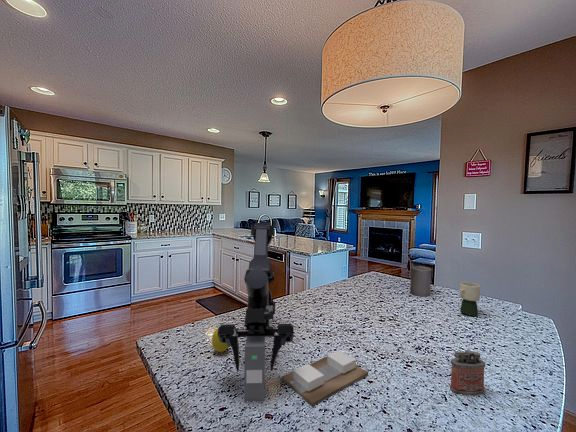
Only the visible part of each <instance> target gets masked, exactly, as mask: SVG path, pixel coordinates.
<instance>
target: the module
mask: <svg viewBox="0 0 576 432" xmlns="http://www.w3.org/2000/svg"><path fill="white" fill-rule="evenodd" d="M245 338H246V339H245V343H244V372H243V373H244V380H243V381H244V389H243V390H244V393H243V394H244V396H243V397H244V399H243V402H244V403H254V402H253V401H264V402H265V388H266V385H265V384H266V382H265V381H266V376H265V373H266V372H265V371H266V337H265V336H247V337H245ZM247 401H248V402H247Z"/></svg>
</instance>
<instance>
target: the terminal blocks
mask: <svg viewBox="0 0 576 432" xmlns="http://www.w3.org/2000/svg"><path fill="white" fill-rule="evenodd" d="M326 357H327V363H328V364H329V365H331V366H332V367H334V368H335V369H337V370H338V371H340V372H341V373H343V374H344V373H346V372H348V371H350V370H352V369H354V368H356V364H357V360H356V359H355V358H354V357H352V356H350V355H349V354H347V353H346V352H343V351H342V350H337V351H335V352H333V353H330V354H327V356H326ZM309 364H310V363H307V364H305V365H302V366H300V367H298V368H295V369H293V370H292V372H293V379H294V380H295V381H297V382H298V383H299V384H300V385H301V386H302V387H304V388H305V389H306V390H307V391H308V392H309V391H311V390H312V389H314V388H316V387H318V386H320V385H322V384H324V375H323V374H322V373H320V372H319V371H318V370H316V369H315V368H313V367H312V366H311V365H309Z"/></svg>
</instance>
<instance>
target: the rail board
mask: <svg viewBox="0 0 576 432" xmlns="http://www.w3.org/2000/svg"><path fill="white" fill-rule="evenodd" d="M308 364H309V365H311V366H312V367H313V368H315V369H316V370H317V369H319V368H321V367H323V366H325V365H327V364H328V363H327V356H325V357H323V358H320V359H318V360H315V361H314V362H312V363H308ZM367 376H369V372H368V371H367V370H365V369H363V368H362V367H360V366H359V365H358V366H357V367H356V368H354V369H352V370H350V371H348V372H346V373H344V374H342V375H340V376H338V377H336V378H334V379H332V380H330V381H328V382H326V383H324V384H322V385H320V386H318V387H316V388H314V389H312V390H311V391H309V392H306V393H304V394H301V393H300V392H299V391H298V390H297V389H295V388H294V387H293V386H292V385H291V384H290V381H293V380H294V379H293V371H291V372H288V373H286V374H283V375H281V380H282V381H283V382H284V381H285V382H286V383H287V384H288V385H289V387H290V388H291V389H292V390H293V391H294V393H296V392H297V393H298V394H299V396H300V398H301V399H303V400H304V401H305V402H306V401H307V402H308V403H307V402H306V403H307V404H308V405H310V406H311V407H314V406H316V405H318V404H320V403H321V402H323V401H325V400H326V399H328V398H329V397H333V395H336V394H337V393H339V392H341V391H342V390H344V389H346V388H348V387H350V386H352V385H354V384H355V383H357V382H359V381H360V380H362V379H364V378H366V377H367ZM285 382H284V383H285ZM286 383H285V384H286ZM288 385H287V386H288ZM297 393H296V394H297ZM298 394H297V395H298Z"/></svg>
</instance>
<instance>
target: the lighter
mask: <svg viewBox="0 0 576 432" xmlns="http://www.w3.org/2000/svg"><path fill="white" fill-rule="evenodd" d="M453 356H454V358H451V359H450V364H451V367H450V368H451V369H450V370H451V371H450V373H451V374H450V379H451V380H450V384H449V390H450V392H451V391H452V392H451V393H453V394H454V393H455V395H457V394H462V395H461V396H468V395H474V396H480V395H481V394H482V395H485V385H484V384H485V383H484V382H485V368H486V362H485V361H484V360H482V359H481V353H480V352H479V351H471V350H470V349H466V350H464V351H463V350H462V351H461V350H459V351H458V350H457V351H454V355H453Z"/></svg>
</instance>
